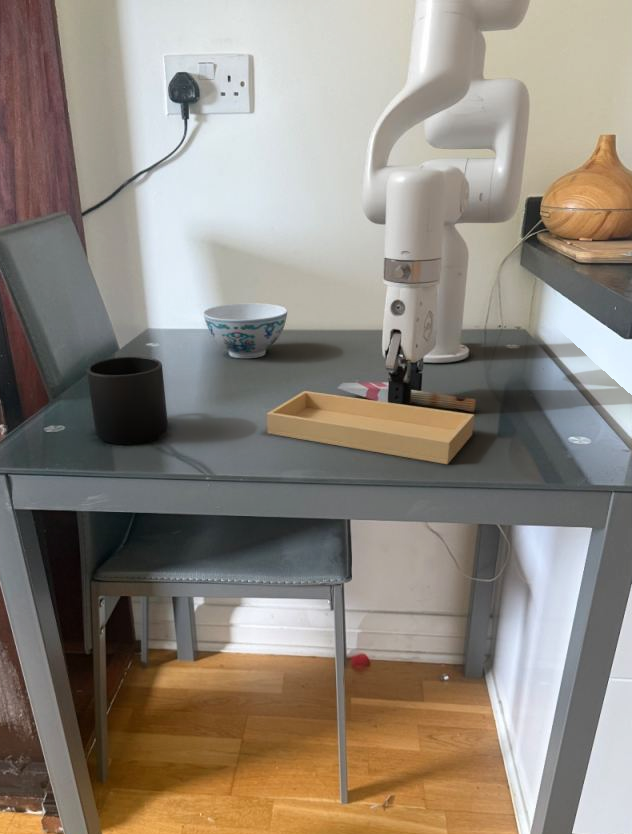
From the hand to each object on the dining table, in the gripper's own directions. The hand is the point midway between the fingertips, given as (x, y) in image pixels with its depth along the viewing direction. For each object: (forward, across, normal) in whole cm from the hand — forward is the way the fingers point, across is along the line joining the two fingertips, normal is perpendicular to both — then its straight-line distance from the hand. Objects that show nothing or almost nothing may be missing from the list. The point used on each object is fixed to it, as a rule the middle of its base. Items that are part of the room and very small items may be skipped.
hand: (404, 402), depth 103 cm
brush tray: (0, -14, 0) cm, 14 cm away
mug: (0, -25, +29) cm, 38 cm away
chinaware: (+1, +16, +36) cm, 39 cm away
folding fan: (0, 0, 0) cm, 0 cm away
